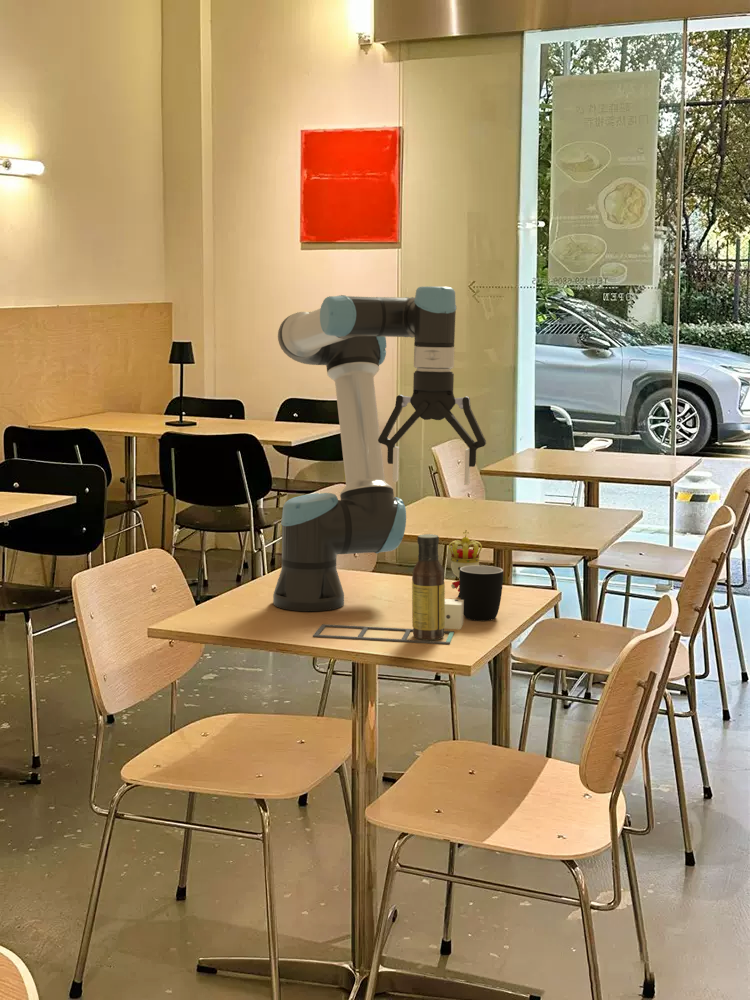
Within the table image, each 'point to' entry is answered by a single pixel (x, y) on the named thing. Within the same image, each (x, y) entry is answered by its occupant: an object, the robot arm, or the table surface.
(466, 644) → the table surface
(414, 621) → the sauce bottle
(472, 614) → the mug
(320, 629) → the board
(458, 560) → the toy
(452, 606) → the die
